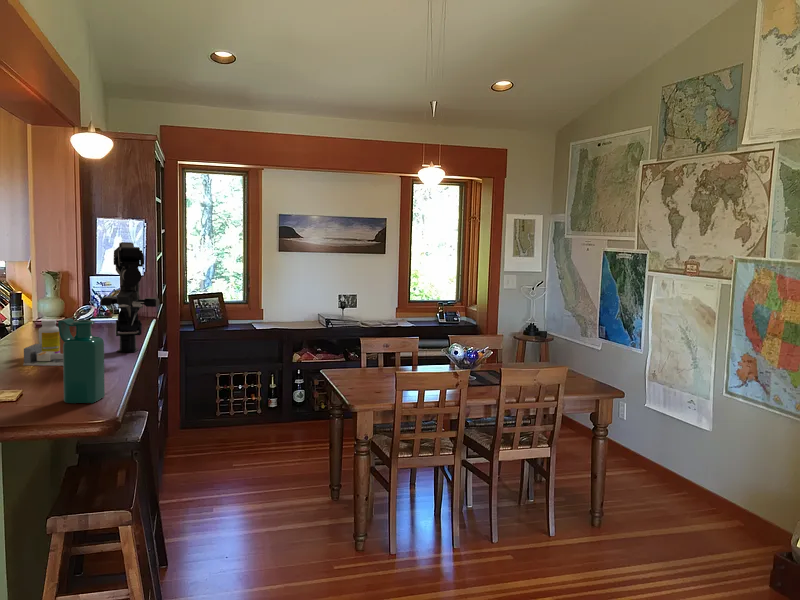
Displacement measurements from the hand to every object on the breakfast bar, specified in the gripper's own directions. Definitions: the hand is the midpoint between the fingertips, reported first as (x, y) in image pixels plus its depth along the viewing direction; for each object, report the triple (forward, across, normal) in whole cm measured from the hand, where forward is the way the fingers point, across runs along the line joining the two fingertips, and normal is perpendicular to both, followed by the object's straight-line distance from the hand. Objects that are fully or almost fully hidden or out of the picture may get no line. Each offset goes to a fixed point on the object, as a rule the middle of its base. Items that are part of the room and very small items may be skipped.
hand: (130, 325), depth 222 cm
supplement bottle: (+12, -29, +4) cm, 32 cm away
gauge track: (+12, -24, -8) cm, 28 cm away
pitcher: (+12, +3, -56) cm, 57 cm away
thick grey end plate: (+11, -21, -9) cm, 25 cm away
